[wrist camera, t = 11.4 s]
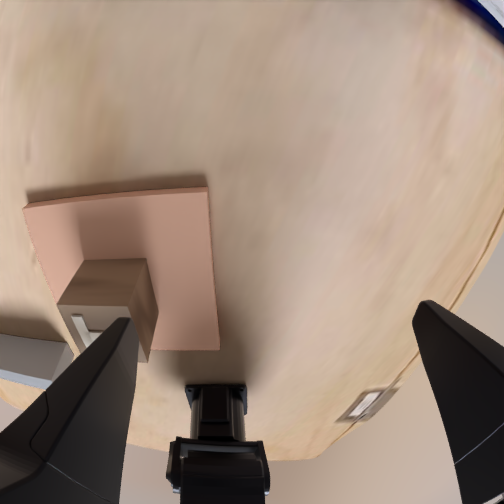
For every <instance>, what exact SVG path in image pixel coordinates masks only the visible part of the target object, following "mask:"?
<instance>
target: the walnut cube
mask: <svg viewBox="0 0 504 504" xmlns="http://www.w3.org/2000/svg"><path fill="white" fill-rule="evenodd" d="M56 305H57V307H58V309H59V312H60V314H61V316H62V318H63V320H64V322H65V324H66V326H67V328H68V330H69V332H70V334H71V336H72V338H73V340H74V342H75V344H76V345H77V347H78V349H79V351H80V353H82V352H83V351H84V350H85V349H86V348H87V347H88V346H89V345H90V344H91V343H92V342H93V341H94V340H95V339H96V338H97V337H98V336H99V335H100V334H101V333H102V332H103V331H104V330H105V329H107V328H108V327H109V326H110V325H111V324H112V323H113V322H114V321H115V320H116V319H117V318H119V317H130V318H132V319H133V321H134V324H135V327H136V330H137V333H138V336H139V352H138V362H144V363H148V359H149V354H150V350H151V345H152V341H153V336H154V332H155V327H156V323H157V319H158V315H159V311H158V307H157V303H156V299H155V294H154V290H153V286H152V282H151V277H150V273H149V268H148V264H147V259H146V258H131V259H101V260H84V261H83V262H82V264H81V265H80V267H79V268H78V270H77V271H76V273H75V275H74V276H73V278H72V279H71V281H70V283H69V284H68V286H67V287H66V289H65V291H64V292H63V294H62V296H61V297H60V299H59V301H58V302H57V304H56Z"/></svg>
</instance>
